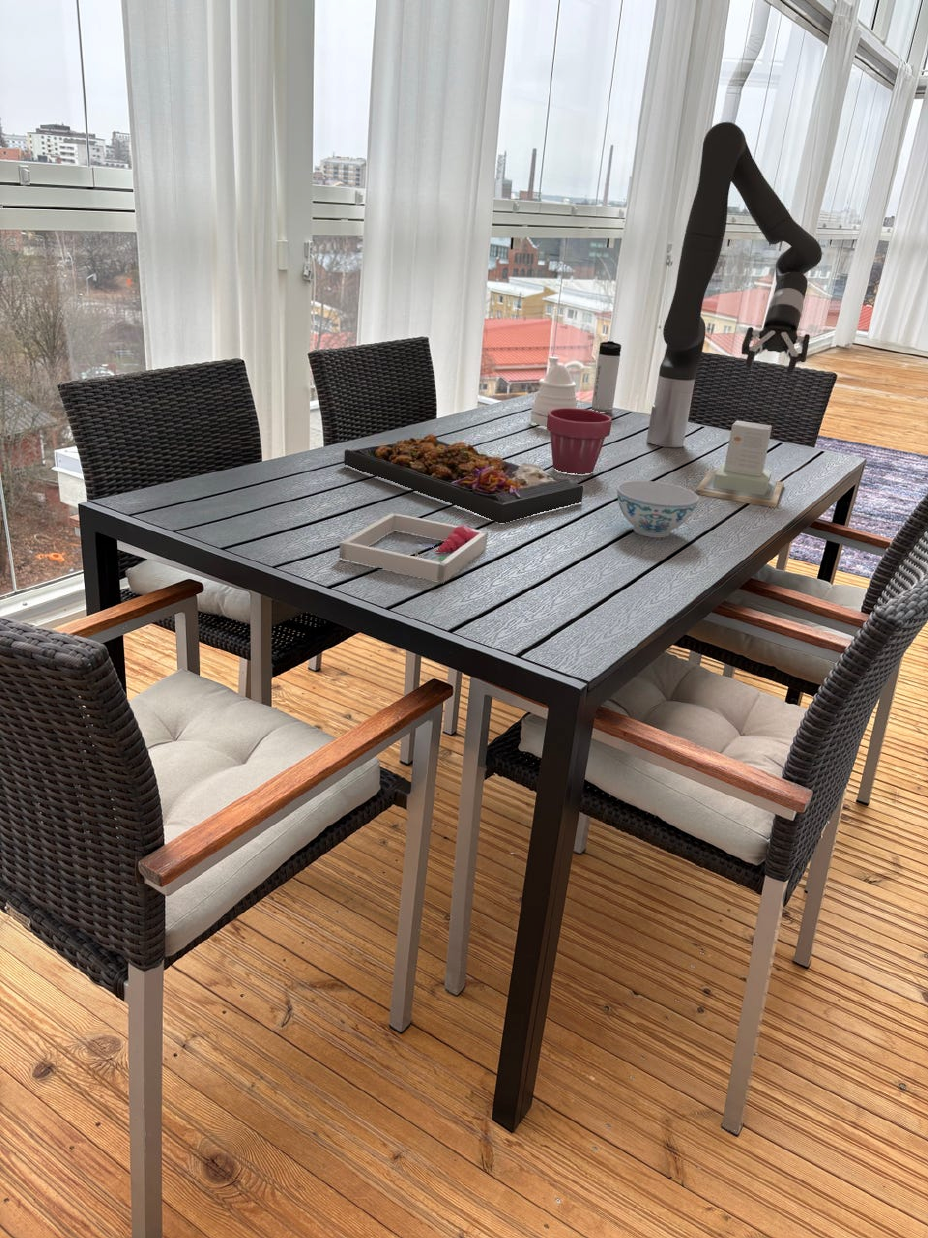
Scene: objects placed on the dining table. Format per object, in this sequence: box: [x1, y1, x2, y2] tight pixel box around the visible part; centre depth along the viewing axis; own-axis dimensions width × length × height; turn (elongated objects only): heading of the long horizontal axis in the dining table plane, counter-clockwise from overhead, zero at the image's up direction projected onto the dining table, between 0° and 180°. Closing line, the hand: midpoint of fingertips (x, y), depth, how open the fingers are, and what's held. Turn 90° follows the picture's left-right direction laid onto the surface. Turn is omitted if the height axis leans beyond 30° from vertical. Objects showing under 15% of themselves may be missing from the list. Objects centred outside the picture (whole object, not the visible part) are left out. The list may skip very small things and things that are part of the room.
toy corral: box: [338, 512, 489, 584], centre depth 156 cm, size 18×19×3 cm
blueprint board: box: [694, 469, 785, 509], centre depth 212 cm, size 17×20×1 cm
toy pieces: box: [413, 525, 476, 561], centre depth 158 cm, size 12×11×4 cm
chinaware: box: [616, 480, 700, 538], centre depth 177 cm, size 15×15×8 cm
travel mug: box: [590, 340, 622, 414], centre depth 279 cm, size 6×7×20 cm
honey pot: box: [529, 356, 580, 427], centre depth 256 cm, size 13×13×18 cm
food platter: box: [343, 433, 584, 524], centre depth 196 cm, size 45×25×10 cm, turn 46°
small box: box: [724, 420, 773, 477], centre depth 209 cm, size 8×6×10 cm
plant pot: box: [547, 408, 613, 474], centre depth 213 cm, size 14×14×13 cm
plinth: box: [713, 462, 773, 495], centre depth 211 cm, size 11×12×3 cm
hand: (768, 370), depth 213 cm, fingers open, 8 cm apart
